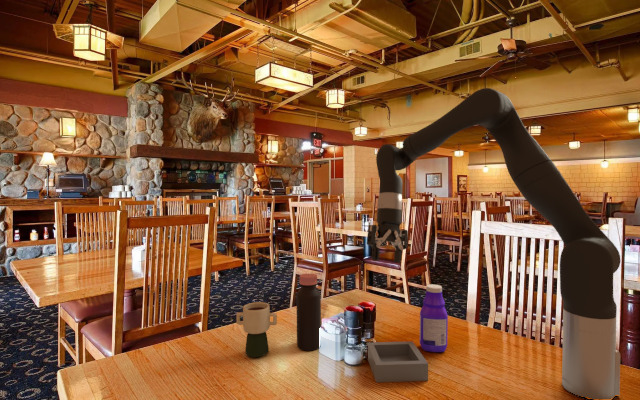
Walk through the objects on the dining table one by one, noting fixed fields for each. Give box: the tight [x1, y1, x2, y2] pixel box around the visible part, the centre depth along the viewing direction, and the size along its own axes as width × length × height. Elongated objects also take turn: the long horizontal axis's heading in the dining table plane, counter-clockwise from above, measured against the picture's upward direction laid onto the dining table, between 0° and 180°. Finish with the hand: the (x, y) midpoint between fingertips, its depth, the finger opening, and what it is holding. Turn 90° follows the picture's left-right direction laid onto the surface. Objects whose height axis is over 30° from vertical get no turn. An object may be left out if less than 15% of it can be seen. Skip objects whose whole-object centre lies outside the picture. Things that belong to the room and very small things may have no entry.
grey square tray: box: [366, 340, 429, 383], centre depth 89 cm, size 12×12×4 cm
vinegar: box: [295, 273, 322, 352], centre depth 102 cm, size 7×7×20 cm
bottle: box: [419, 283, 449, 353], centre depth 100 cm, size 7×6×17 cm
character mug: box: [236, 301, 278, 358], centre depth 98 cm, size 11×7×13 cm, turn 86°
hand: (386, 261), depth 110 cm, fingers open, 8 cm apart
